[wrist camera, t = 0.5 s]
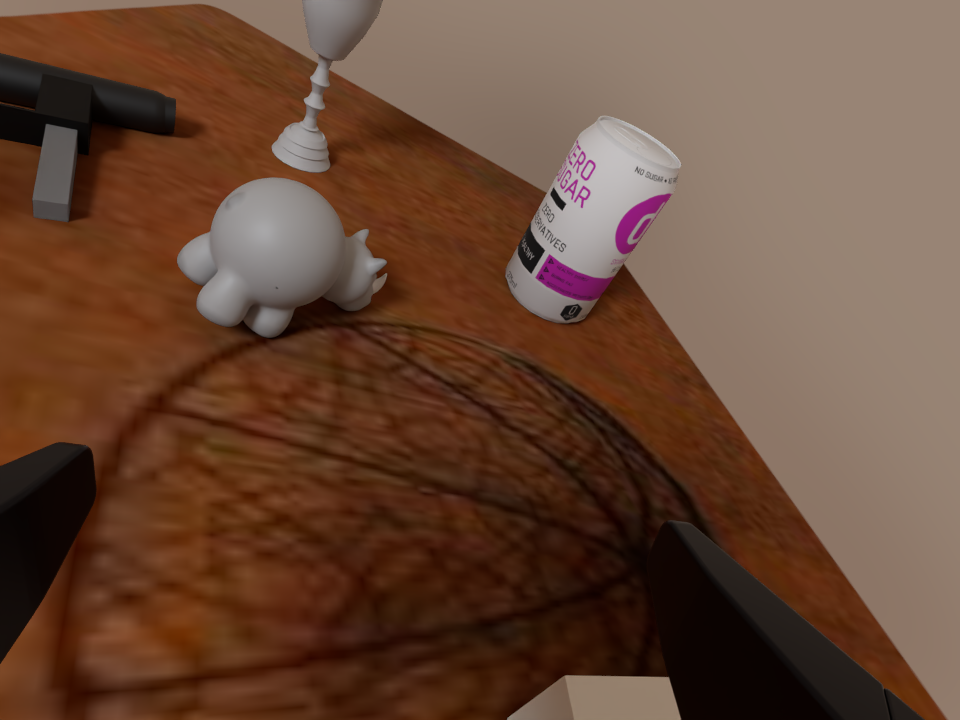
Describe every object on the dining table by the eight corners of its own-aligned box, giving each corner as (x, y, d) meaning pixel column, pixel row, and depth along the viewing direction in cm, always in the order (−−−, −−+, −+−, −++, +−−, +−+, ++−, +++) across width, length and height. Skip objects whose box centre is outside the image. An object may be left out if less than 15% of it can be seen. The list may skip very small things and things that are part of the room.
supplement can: (599, 316, 53) (704, 171, 44) (549, 337, 48) (658, 175, 38) (538, 261, 56) (625, 114, 47) (483, 274, 50) (571, 108, 41)
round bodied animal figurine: (358, 372, 40) (441, 285, 37) (186, 333, 30) (280, 211, 27) (323, 300, 43) (396, 214, 40) (159, 244, 34) (240, 127, 31)
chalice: (279, 125, 54) (328, -103, 43) (350, 158, 55) (414, -56, 44) (246, 153, 48) (293, -103, 37) (325, 188, 49) (392, -49, 38)
